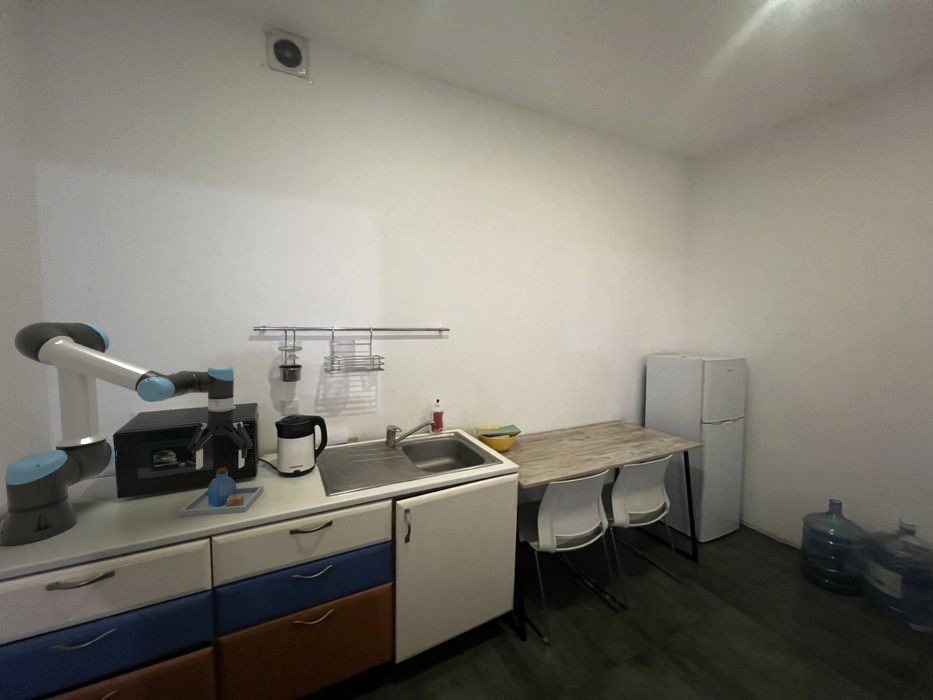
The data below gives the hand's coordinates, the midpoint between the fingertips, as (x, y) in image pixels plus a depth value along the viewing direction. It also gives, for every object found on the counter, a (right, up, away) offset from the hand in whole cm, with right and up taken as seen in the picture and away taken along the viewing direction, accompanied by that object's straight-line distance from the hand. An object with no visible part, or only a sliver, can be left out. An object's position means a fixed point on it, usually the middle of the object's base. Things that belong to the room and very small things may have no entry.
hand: (220, 467), depth 123 cm
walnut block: (+8, -13, -3) cm, 16 cm away
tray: (+1, -13, 0) cm, 13 cm away
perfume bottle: (0, -13, +1) cm, 13 cm away
